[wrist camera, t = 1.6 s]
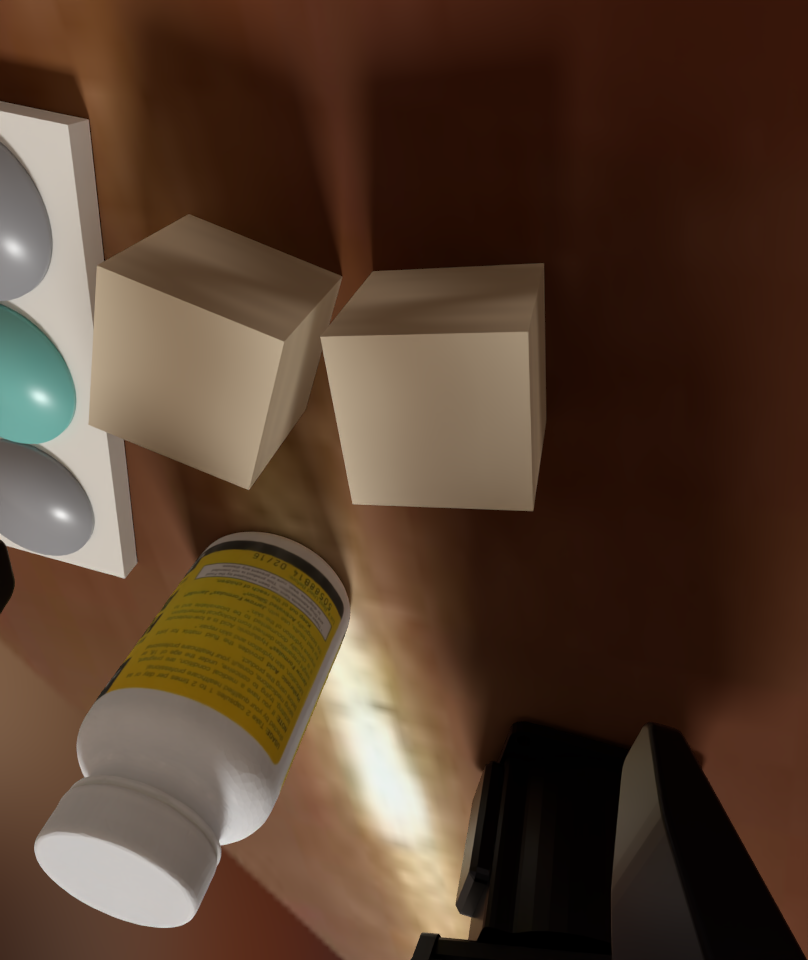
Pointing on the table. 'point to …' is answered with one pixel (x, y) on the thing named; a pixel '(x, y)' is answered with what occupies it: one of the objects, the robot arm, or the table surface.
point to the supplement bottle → (197, 729)
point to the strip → (54, 351)
